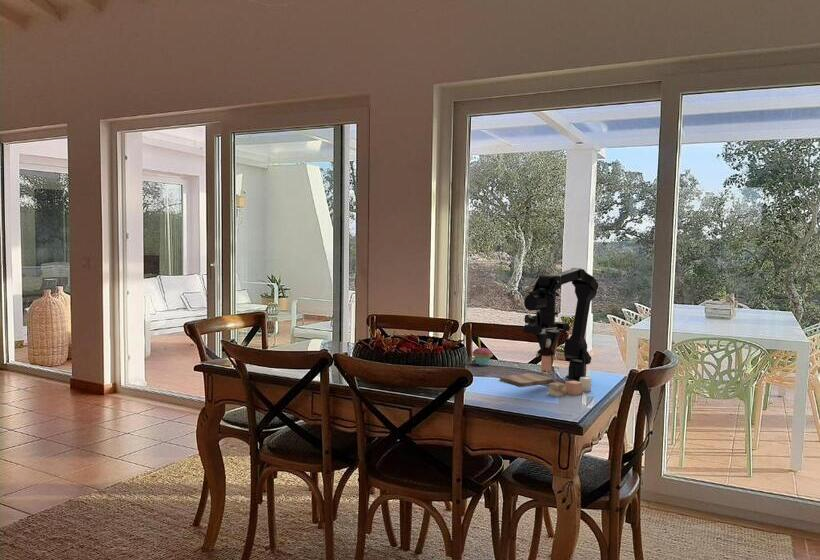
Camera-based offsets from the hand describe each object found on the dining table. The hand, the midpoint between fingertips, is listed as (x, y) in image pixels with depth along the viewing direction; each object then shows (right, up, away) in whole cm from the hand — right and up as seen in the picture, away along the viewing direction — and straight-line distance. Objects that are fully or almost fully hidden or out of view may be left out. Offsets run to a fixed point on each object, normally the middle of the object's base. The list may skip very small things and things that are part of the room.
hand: (545, 351), depth 241 cm
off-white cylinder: (+13, -14, -5) cm, 20 cm away
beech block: (+1, -14, -13) cm, 19 cm away
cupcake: (-19, -10, +38) cm, 44 cm away
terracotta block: (+8, -14, -10) cm, 19 cm away
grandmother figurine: (0, -8, +1) cm, 8 cm away
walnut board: (-6, -12, +7) cm, 16 cm away
